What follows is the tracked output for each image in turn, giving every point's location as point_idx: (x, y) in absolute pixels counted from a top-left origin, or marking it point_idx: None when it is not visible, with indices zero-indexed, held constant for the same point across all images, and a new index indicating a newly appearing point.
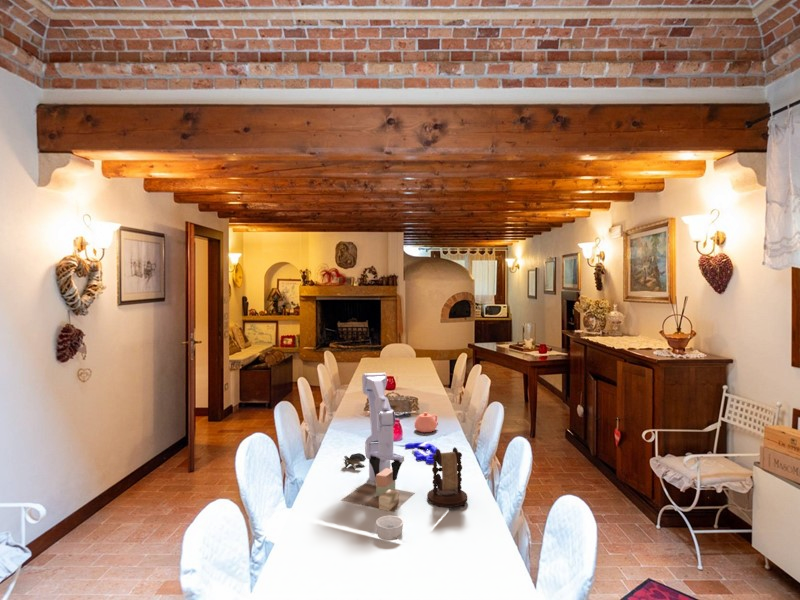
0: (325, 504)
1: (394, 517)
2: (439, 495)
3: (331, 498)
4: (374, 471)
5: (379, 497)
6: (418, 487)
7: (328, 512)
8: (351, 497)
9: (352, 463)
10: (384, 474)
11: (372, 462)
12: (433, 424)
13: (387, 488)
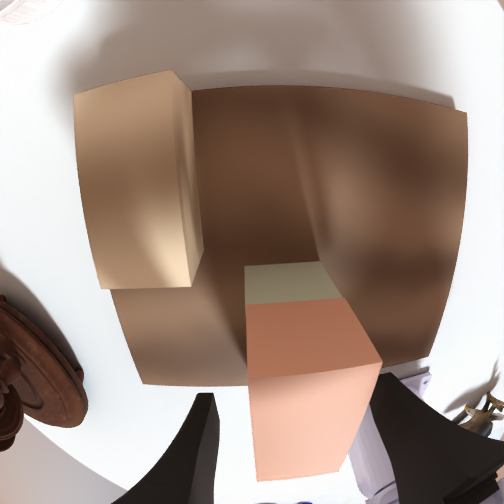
0: (489, 81)
1: (11, 4)
2: (2, 350)
3: (501, 151)
4: (415, 401)
5: (165, 73)
6: None
7: (433, 4)
8: (442, 169)
9: (479, 414)
10: (294, 412)
11: (474, 457)
12: None
13: None
